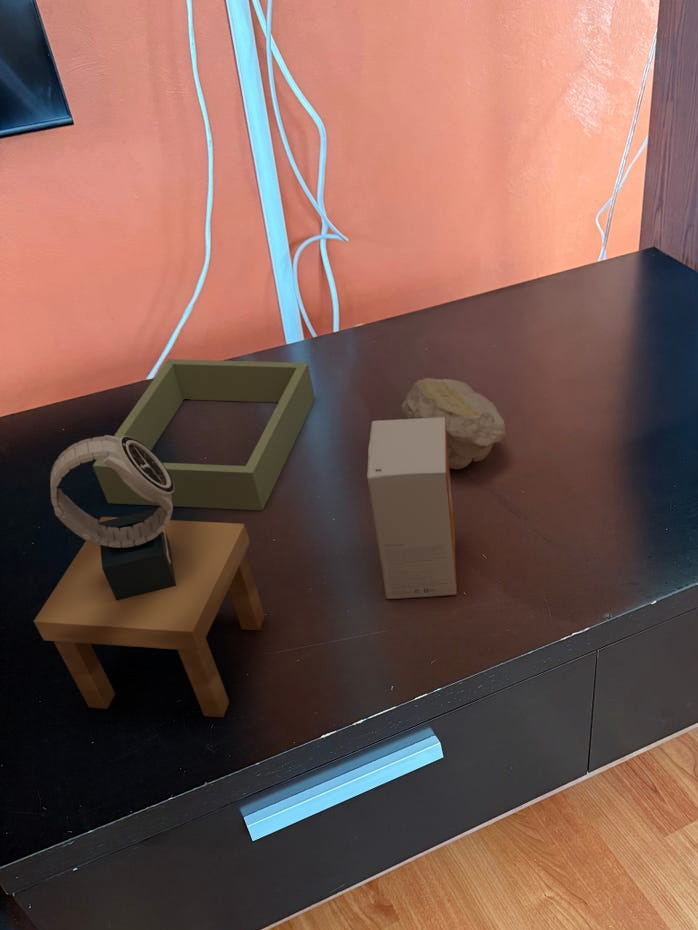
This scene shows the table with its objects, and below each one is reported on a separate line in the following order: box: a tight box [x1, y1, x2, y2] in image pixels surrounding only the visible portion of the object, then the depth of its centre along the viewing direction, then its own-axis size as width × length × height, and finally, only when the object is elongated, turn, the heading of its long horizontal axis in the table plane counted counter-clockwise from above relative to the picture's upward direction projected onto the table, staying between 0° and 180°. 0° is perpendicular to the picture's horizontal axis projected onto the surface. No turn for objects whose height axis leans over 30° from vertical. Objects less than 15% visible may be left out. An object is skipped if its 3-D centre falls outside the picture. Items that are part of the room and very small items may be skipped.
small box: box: [366, 417, 458, 600], centre depth 80 cm, size 8×6×13 cm
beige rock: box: [400, 377, 506, 470], centre depth 95 cm, size 12×8×10 cm
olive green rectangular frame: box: [92, 358, 316, 511], centre depth 98 cm, size 16×20×4 cm
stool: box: [33, 516, 266, 718], centre depth 75 cm, size 12×12×10 cm
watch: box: [49, 434, 176, 601], centre depth 67 cm, size 6×8×11 cm
